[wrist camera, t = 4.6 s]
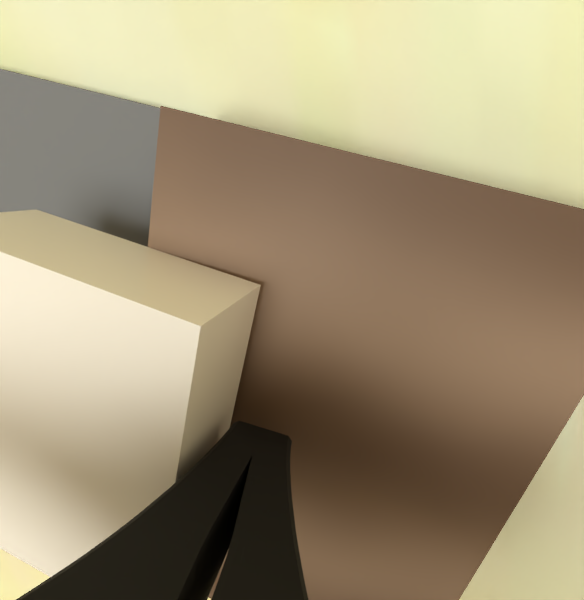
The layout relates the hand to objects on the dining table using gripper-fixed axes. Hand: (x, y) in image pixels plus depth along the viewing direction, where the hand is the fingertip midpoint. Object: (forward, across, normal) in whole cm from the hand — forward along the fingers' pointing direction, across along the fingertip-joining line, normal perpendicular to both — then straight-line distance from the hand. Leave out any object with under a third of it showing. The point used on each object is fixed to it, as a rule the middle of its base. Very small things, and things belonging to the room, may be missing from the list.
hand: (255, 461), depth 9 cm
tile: (0, +4, 0) cm, 4 cm away
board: (+4, -1, 0) cm, 4 cm away
